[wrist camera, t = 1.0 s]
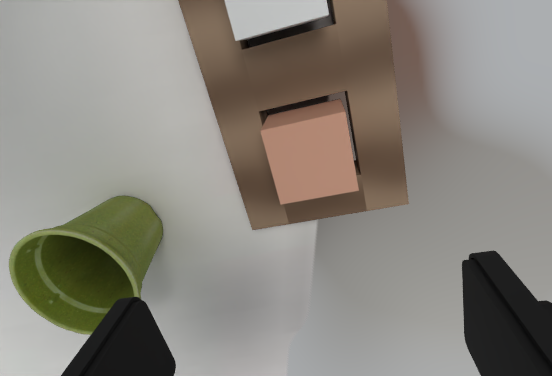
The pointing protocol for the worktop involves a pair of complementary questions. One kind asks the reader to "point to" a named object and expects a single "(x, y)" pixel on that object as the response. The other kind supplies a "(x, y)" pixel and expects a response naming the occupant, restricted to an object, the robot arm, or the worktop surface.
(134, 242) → the plant pot
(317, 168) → the terracotta key
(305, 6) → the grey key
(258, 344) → the worktop surface
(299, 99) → the brown rectangular frame
